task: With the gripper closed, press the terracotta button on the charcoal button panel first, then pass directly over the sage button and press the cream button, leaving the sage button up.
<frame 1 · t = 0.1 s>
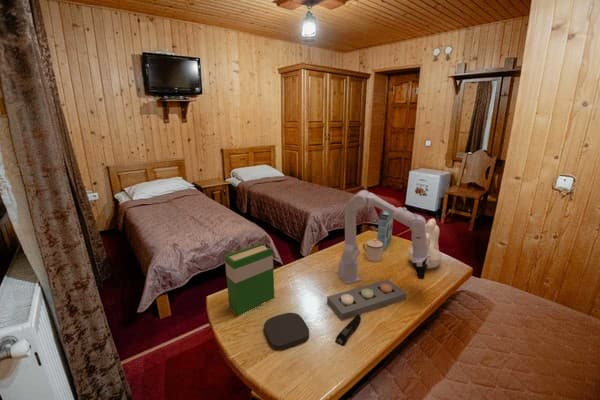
hand: (421, 274, 122), 10 cm above the table, tool pointing down, fingers open, 7 cm apart
button panel: (366, 300, 121), on the table
hardback book: (252, 303, 121), on the table
teacup with lid: (371, 257, 159), on the table
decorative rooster: (420, 266, 149), on the table
sage button: (367, 294, 120), point 3 cm above the table, slide at 0.0 cm
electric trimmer: (348, 332, 104), on the table
terracotta button: (386, 288, 124), point 3 cm above the table, slide at 0.0 cm
cream button: (347, 300, 117), point 3 cm above the table, slide at 0.0 cm
media streaming box: (286, 333, 104), on the table
gum box: (384, 245, 174), on the table
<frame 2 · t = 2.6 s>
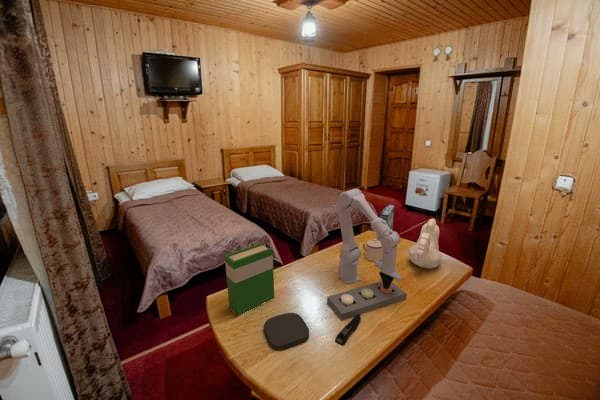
hand: (386, 287, 124), 4 cm above the table, tool pointing down, fingers closed, pressing on terracotta button
terracotta button: (386, 290, 124), point 3 cm above the table, slide at 0.8 cm, touching gripper
everything else where it was.
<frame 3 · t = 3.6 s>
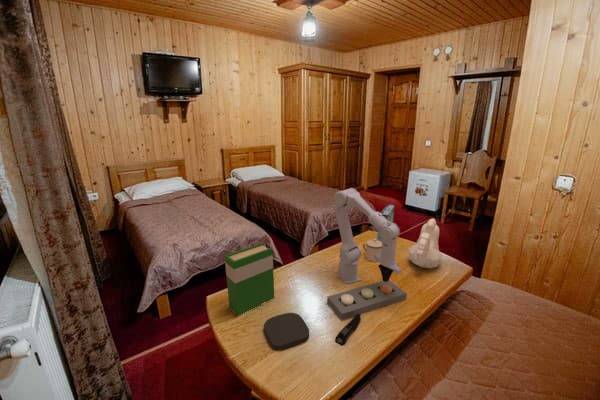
hand: (385, 280, 123), 7 cm above the table, tool pointing down, fingers closed
terracotta button: (386, 290, 124), point 2 cm above the table, slide at 0.8 cm
everything else where it was.
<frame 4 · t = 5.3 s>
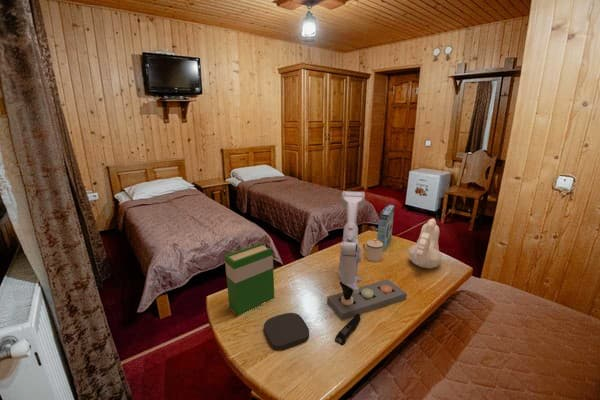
hand: (347, 298, 116), 4 cm above the table, tool pointing down, fingers closed, pressing on cream button
cream button: (347, 301, 117), point 3 cm above the table, slide at 0.4 cm, touching gripper
everything else where it was.
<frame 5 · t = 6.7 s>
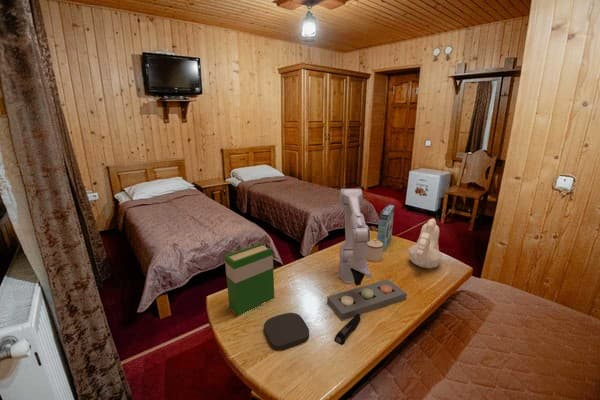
hand: (357, 284, 119), 8 cm above the table, tool pointing down, fingers closed
cream button: (347, 302, 117), point 2 cm above the table, slide at 0.8 cm
everything else where it was.
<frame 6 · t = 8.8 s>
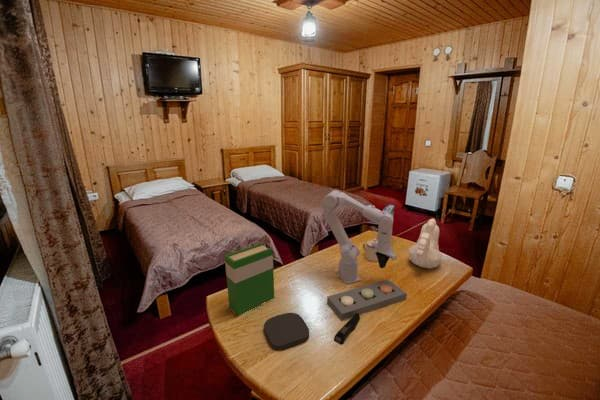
hand: (382, 267, 130), 9 cm above the table, tool pointing down, fingers closed
nothing on the table moved.
at the end: terracotta button slide at 0.8 cm; cream button slide at 0.8 cm; sage button slide at 0.0 cm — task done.
